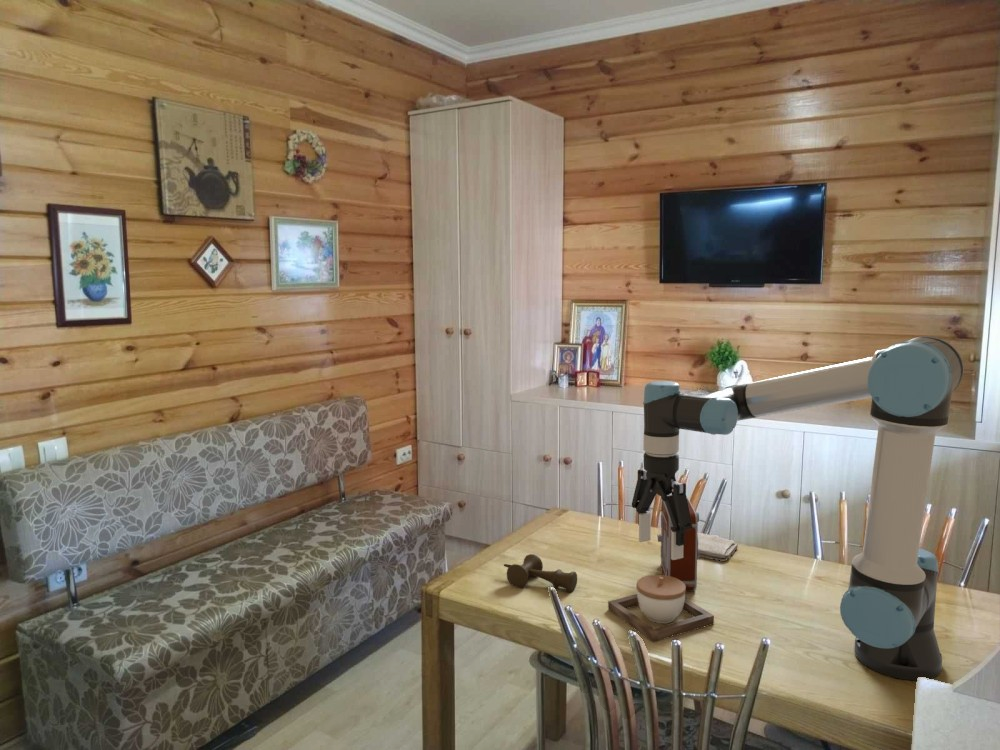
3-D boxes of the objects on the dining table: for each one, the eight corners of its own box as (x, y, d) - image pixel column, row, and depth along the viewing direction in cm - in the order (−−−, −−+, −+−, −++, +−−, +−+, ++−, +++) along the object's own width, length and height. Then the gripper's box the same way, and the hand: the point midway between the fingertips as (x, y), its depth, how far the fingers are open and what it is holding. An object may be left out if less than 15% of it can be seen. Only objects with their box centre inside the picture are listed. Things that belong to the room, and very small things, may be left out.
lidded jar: (633, 625, 158) (634, 585, 157) (638, 603, 168) (639, 565, 167) (684, 631, 155) (685, 590, 154) (686, 608, 165) (686, 570, 164)
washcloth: (727, 564, 190) (727, 553, 189) (662, 551, 199) (662, 540, 199) (739, 549, 200) (739, 538, 199) (676, 537, 209) (676, 527, 209)
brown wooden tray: (713, 624, 158) (713, 615, 158) (652, 642, 151) (652, 633, 151) (665, 594, 173) (666, 586, 172) (608, 609, 166) (608, 601, 165)
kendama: (565, 601, 171) (493, 582, 181) (582, 587, 180) (512, 569, 190) (566, 578, 171) (494, 560, 181) (583, 564, 179) (513, 547, 189)
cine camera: (689, 561, 191) (690, 488, 188) (702, 594, 172) (703, 513, 169) (654, 560, 192) (654, 488, 189) (663, 593, 173) (663, 513, 170)
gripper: (711, 462, 147) (709, 564, 151) (642, 439, 168) (642, 529, 171) (682, 467, 144) (681, 572, 147) (616, 443, 165) (616, 535, 168)
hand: (660, 549), depth 159 cm, fingers open, 11 cm apart
